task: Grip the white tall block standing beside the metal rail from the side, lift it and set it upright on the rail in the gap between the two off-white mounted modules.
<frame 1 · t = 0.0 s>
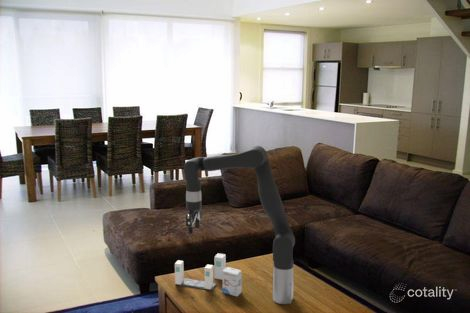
hand: (194, 230, 214), 29 cm above the table, tool pointing down, fingers open, 8 cm apart
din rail: (195, 284, 220), on the table
ink box: (231, 293, 213), on the table
white tall block: (220, 277, 229), on the table
mounted modules: (193, 274, 217), on the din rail, point 6 cm above the table
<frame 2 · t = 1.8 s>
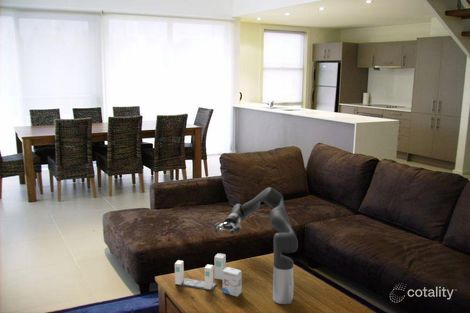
hand: (223, 231, 233), 22 cm above the table, tool horizontal, fingers open, 8 cm apart
nothing on the table moved.
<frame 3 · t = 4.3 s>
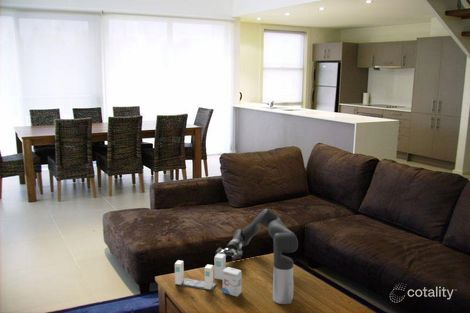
hand: (225, 258, 236), 7 cm above the table, tool horizontal, fingers open, 8 cm apart
nothing on the table moved.
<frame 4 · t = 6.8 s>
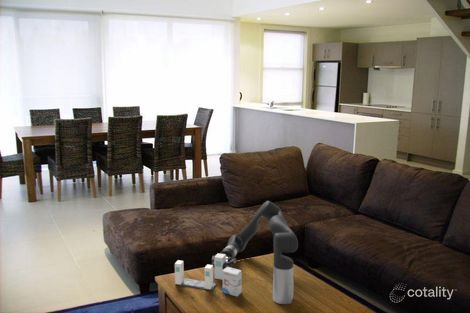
hand: (218, 266, 225), 7 cm above the table, tool horizontal, fingers closed on white tall block, 4 cm apart
white tall block: (220, 276, 229), on the table, touching gripper
everything else where it was.
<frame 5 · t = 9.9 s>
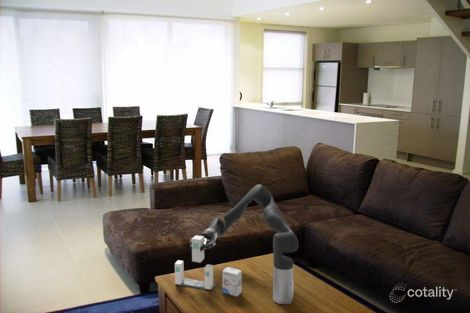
hand: (195, 248, 216), 20 cm above the table, tool horizontal, fingers closed on white tall block, 4 cm apart
white tall block: (198, 259, 219), point 13 cm above the table, touching gripper
everything else where it was.
when the fingers open (9 cm above the table, at t = 13.1 s): white tall block drops 1 cm, resting on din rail.
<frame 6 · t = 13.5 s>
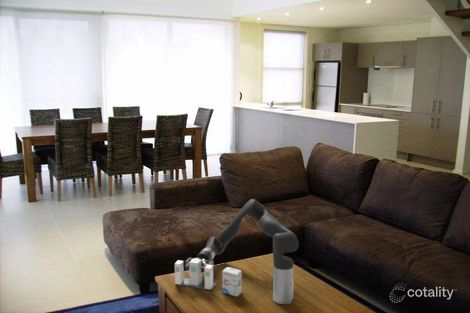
hand: (193, 269, 217), 9 cm above the table, tool horizontal, fingers open, 8 cm apart
white tall block: (195, 282, 220), point 1 cm above the table, touching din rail
everything else where it was.
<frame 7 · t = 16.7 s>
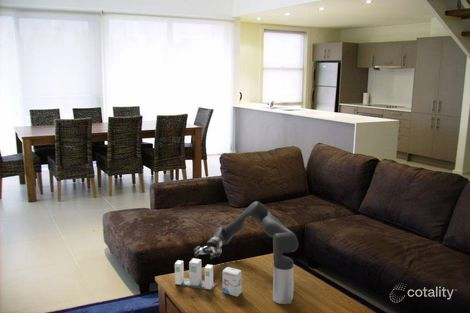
hand: (203, 256, 228), 11 cm above the table, tool horizontal, fingers open, 8 cm apart
nothing on the table moved.
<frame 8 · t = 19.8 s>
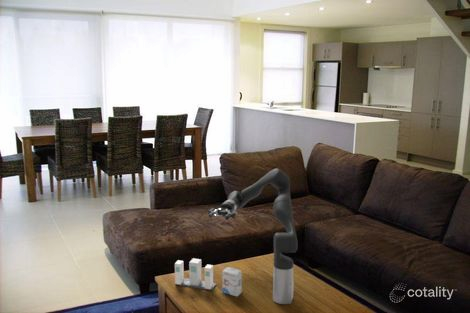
hand: (218, 217, 220), 34 cm above the table, tool horizontal, fingers open, 8 cm apart
nothing on the table moved.
at the end: white tall block 0.0 cm off-centre on the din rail, point 1.0 cm above the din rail's base; white tall block tilted 0°; the gripper is holding nothing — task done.
